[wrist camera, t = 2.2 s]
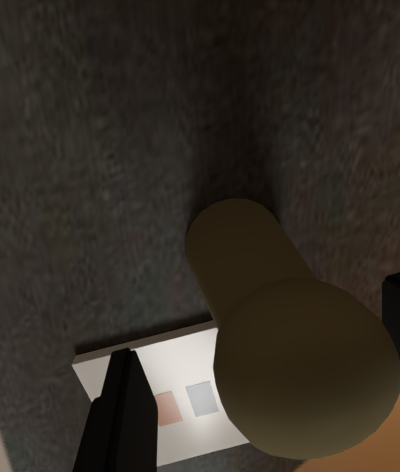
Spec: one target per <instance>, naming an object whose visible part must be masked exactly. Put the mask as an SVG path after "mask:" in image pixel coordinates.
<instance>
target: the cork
mask: <svg viewBox="0 0 400 472" xmlns="http://www.w3.org/2000/svg"><path fill="white" fill-rule="evenodd" d="M185 254H186V257H187V261H188V264H189V267H190V269H191V271H192V273H193V276H194V278H195V280H196V282H197V284H198V287H199V289H200V291H201V293H202V296H203V298H204V300H205V302H206V305H207V307H208V309H209V311H210V313H211V316H212V318H213V320H214V322H215V325H216V327H217V329H218V332H217V336H216V344H215V353H214V362H213V372H214V378H215V384H216V388H217V391H218V394H219V397H220V401H221V404H222V406H223V408H224V410H225V412H226V414H227V416H228V418H229V420H230V421H231V422H232V423H233V425H234V426H235V427H236V428H237V429H238V430H239V431H240V432H241V433H242V435H243V436H244V437H245V438H246V439H247V440H248V441H249V442H250V443H251V444H252V445H253V446H254V447H256V448H258V449H260V450H262V451H264V452H266V453H268V454H270V455H274V456H280V457H286V458H292V459H299V460H300V459H315V458H322V457H326V456H330V455H333V454H337V453H340V452H343V451H344V450H346V449H349V448H351V447H353V446H355V445H357V444H359V443H360V442H362V441H363V440H364V439H366V438H367V437H368V436H370V435H371V434H372V433H373V432H375V431H376V430H377V429H378V428H379V426H380V425H381V424H382V423H383V422H384V421H385V419H386V418H387V417H388V416H389V414H390V413H391V411H392V409H393V408H394V405H395V403H396V401H397V398H398V396H399V393H400V360H399V356H398V352H397V350H396V348H395V345H394V343H393V341H392V338H391V336H390V334H389V333H388V331H387V330H386V328H385V327H384V325H383V323H382V322H381V320H380V319H379V318H378V317H377V316H376V315H375V314H373V313H372V312H371V311H370V310H369V309H368V308H366V307H365V306H364V305H363V304H362V303H361V302H360V301H358V300H357V299H356V298H355V297H354V296H353V295H351V294H350V293H349V292H347V291H345V290H343V289H341V288H338V287H336V286H334V285H331V284H328V283H325V282H322V281H319V280H317V279H316V277H315V276H314V274H313V273H312V271H311V270H310V268H309V267H308V266H307V264H306V263H305V261H304V260H303V258H302V257H301V255H300V254H299V252H298V251H297V249H296V248H295V246H294V245H293V243H292V242H291V240H290V239H289V237H288V236H287V235H286V233H285V232H284V230H283V229H282V227H281V226H280V224H279V223H278V221H277V220H276V218H275V217H274V215H273V214H272V213H271V212H270V211H269V210H267V209H266V208H265V207H264V206H263V205H262V204H259V203H257V202H254V201H252V200H249V199H240V198H230V199H226V200H223V201H219V202H215V203H214V204H212V205H211V206H209V207H208V208H206V209H204V210H203V211H202V212H201V213H200V214H199V215H198V216H197V217H196V219H195V220H194V221H193V222H192V223H191V226H190V228H189V231H188V233H187V236H186V242H185Z"/></svg>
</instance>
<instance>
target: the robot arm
mask: <svg viewBox="0 0 400 472" xmlns="http://www.w3.org/2000/svg"><path fill="white" fill-rule="evenodd" d="M382 323H383V325H384V327H385V328H386V330H387V331H388V333H389V334H390V336H391V338H392V341H393V343H394V345H395V348H396V350H397V352H398V356H399V359H400V272H399V273H396V274H392V275H388V276H387V277H386V278H385V281H383V283H382ZM157 441H158V406H157V402H156V399H155V397H154V395H153V392H152V390H151V387H150V385H149V382H148V380H147V377H146V375H145V372H144V370H143V367H142V365H141V362H140V360H139V357H138V355H137V352H136V351H135V350H132V351H131V350H130V348H129V347H127V348H123V349H120V350H116V351H113V352H112V353H111V356H110V360H109V364H108V368H107V372H106V376H105V380H104V384H103V388H102V392H101V395H100V397H97V398H95V399H94V400H93V402H92V404H91V407H90V411H89V415H88V418H87V422H86V425H85V429H84V432H83V436H82V439H81V443H80V446H79V450H78V453H77V457H76V461H75V464H74V468H73V471H72V472H157Z"/></svg>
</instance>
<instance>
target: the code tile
mask: <svg viewBox="0 0 400 472" xmlns="http://www.w3.org/2000/svg"><path fill="white" fill-rule="evenodd" d="M217 332H218V329H217V327H216V325H215V322H214V320H212V321H208V322H204V323H201V324H197V325H193V326H189V327H185V328H181V329H177V330H173V331H170V332H166V333H162V334H158V335H154V336H150V337H146V338H142V339H139V340H135V341H131V342H127V343H123V344H119V345H115V346H112V347H108V348H104V349H100V350H96V351H92V352H88V353H84V354H81V355H77V356H75V359H74V361H73V363H72V366H73V368H74V370H75V372H76V374H77V376H78V377H79V379H80V381H81V383H82V385H83V387H84V388H85V390H86V392H87V394H88V396H89V398H90V399H91V401H92V402H93V400H94V399H95V398H97V397H100V395H101V392H102V388H103V384H104V380H105V376H106V372H107V368H108V364H109V360H110V356H111V353H112V352H113V351H116V350H120V349H123V348H127V347H129V348H130V350H131V351H132V350H135V351H136V352H137V355H138V357H139V360H140V362H141V365H142V367H143V370H144V372H145V375H146V377H147V380H148V382H149V385H150V387H151V390H152V392H153V395H154V397H155V399H156V402H157V406H158V441H157V466H161V465H165V464H168V463H172V462H176V461H180V460H184V459H187V458H191V457H195V456H199V455H203V454H206V453H210V452H214V451H218V450H222V449H225V448H229V447H233V446H237V445H241V444H244V443H248V442H249V441H248V440H247V439H246V438H245V437H244V436H243V435H242V433H241V432H240V431H239V430H238V429H237V428H236V427H235V426H234V425H233V423H232V422H231V421H230V420H229V418H228V416H227V414H226V412H225V410H224V408H223V406H222V404H221V401H220V397H219V394H218V391H217V388H216V384H215V378H214V372H213V362H214V353H215V344H216V336H217Z"/></svg>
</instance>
